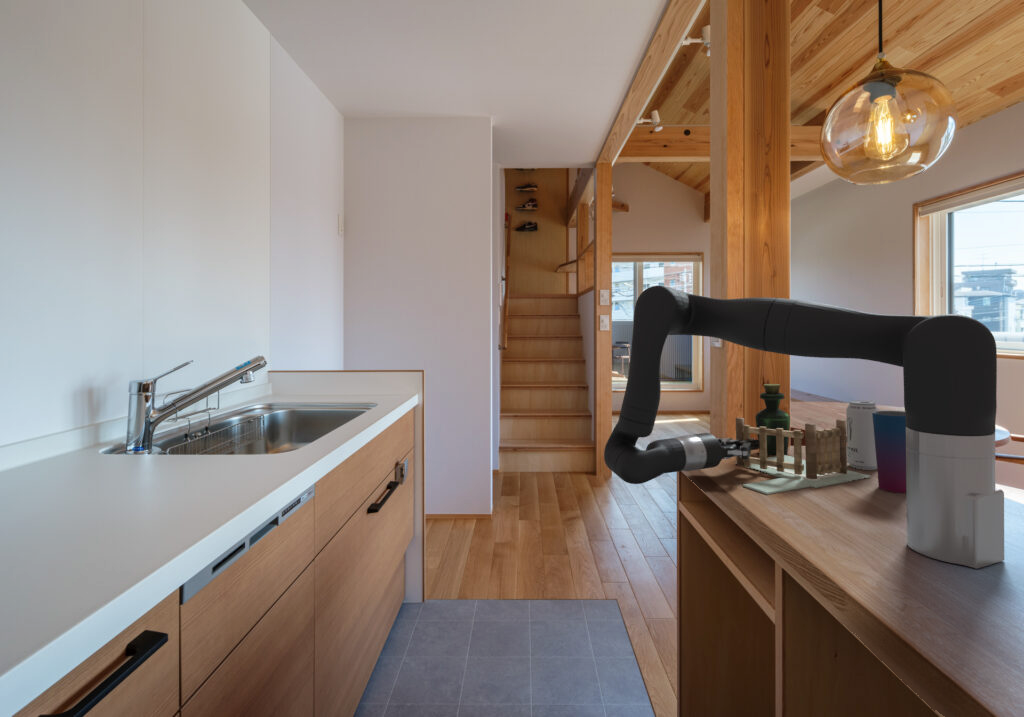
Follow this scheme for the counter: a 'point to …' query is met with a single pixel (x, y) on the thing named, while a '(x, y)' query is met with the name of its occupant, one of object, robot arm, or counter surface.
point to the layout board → (797, 478)
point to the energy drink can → (861, 435)
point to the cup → (890, 449)
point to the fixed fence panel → (825, 449)
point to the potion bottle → (773, 417)
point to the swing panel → (744, 434)
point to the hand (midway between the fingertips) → (756, 443)
